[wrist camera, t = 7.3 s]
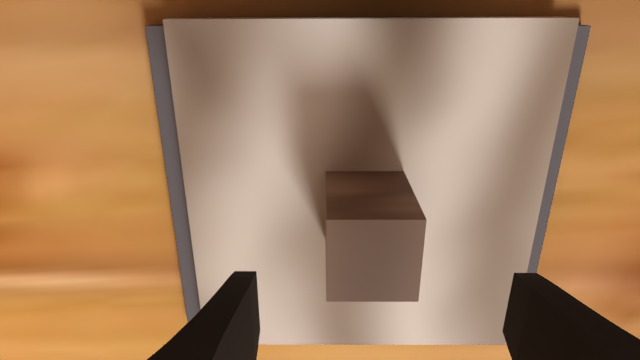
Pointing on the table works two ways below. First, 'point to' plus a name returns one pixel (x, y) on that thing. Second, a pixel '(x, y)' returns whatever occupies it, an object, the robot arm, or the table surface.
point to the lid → (368, 167)
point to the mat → (176, 174)
